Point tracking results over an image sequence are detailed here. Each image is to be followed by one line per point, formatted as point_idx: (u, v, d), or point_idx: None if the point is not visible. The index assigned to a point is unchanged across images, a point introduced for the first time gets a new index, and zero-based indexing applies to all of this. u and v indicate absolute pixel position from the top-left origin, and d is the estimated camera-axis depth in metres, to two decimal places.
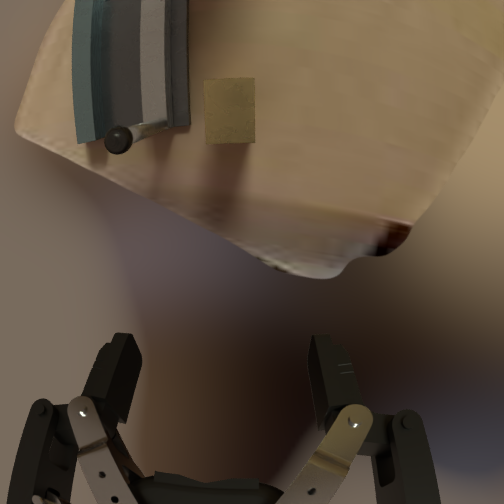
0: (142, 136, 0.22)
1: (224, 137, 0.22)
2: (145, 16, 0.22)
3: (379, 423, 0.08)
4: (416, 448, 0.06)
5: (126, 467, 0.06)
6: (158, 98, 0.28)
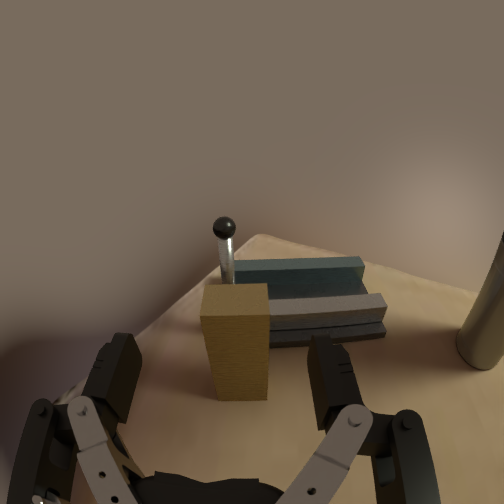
0: (222, 260, 0.31)
1: (209, 295, 0.24)
2: (338, 299, 0.37)
3: (379, 423, 0.08)
4: (416, 448, 0.06)
5: (126, 467, 0.06)
6: None
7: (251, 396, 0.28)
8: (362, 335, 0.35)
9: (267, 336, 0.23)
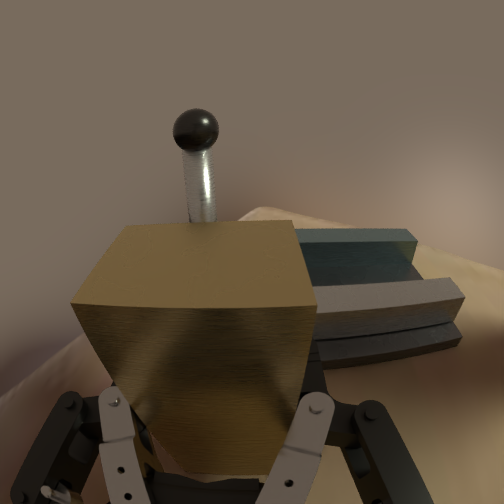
0: (191, 199, 0.15)
1: (122, 248, 0.08)
2: (395, 286, 0.21)
3: (343, 413, 0.08)
4: (385, 437, 0.07)
5: (148, 464, 0.07)
6: None
7: (249, 471, 0.12)
8: (431, 345, 0.19)
9: (297, 378, 0.07)
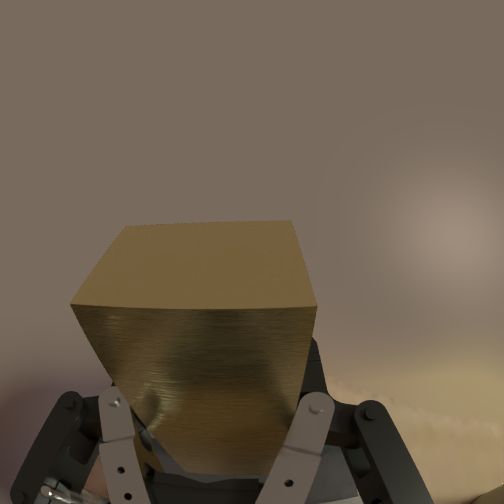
0: None
1: (122, 248, 0.08)
2: None
3: (343, 412, 0.08)
4: (385, 437, 0.07)
5: (148, 464, 0.07)
6: None
7: (248, 471, 0.12)
8: None
9: (297, 378, 0.07)
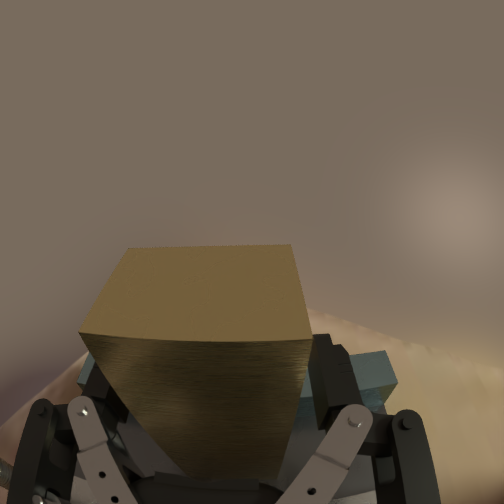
0: None
1: (126, 274, 0.08)
2: None
3: (379, 423, 0.08)
4: (416, 448, 0.06)
5: (126, 467, 0.06)
6: None
7: (248, 476, 0.12)
8: None
9: (294, 398, 0.07)
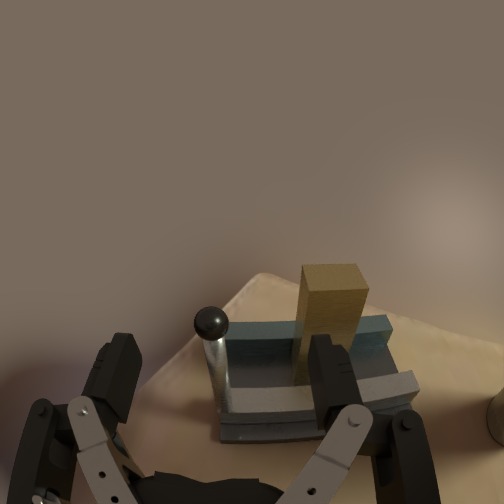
0: (210, 363, 0.20)
1: (310, 274, 0.25)
2: (362, 383, 0.26)
3: (379, 423, 0.08)
4: (416, 448, 0.06)
5: (126, 467, 0.06)
6: (257, 405, 0.25)
7: None
8: None
9: (361, 310, 0.25)
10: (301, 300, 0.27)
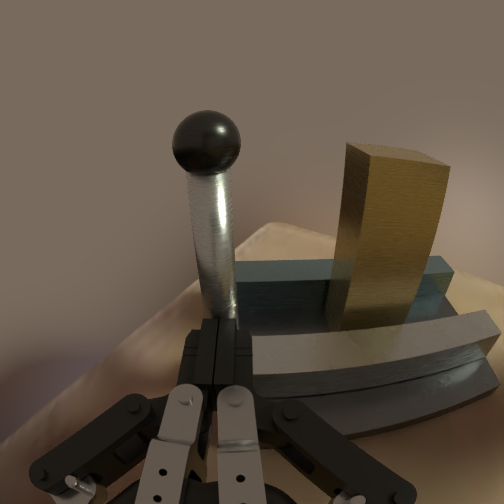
0: (201, 243, 0.11)
1: (362, 147, 0.15)
2: (433, 326, 0.17)
3: (265, 409, 0.09)
4: (315, 431, 0.07)
5: (193, 471, 0.07)
6: (282, 362, 0.16)
7: None
8: (470, 398, 0.14)
9: (440, 207, 0.14)
10: (349, 196, 0.17)
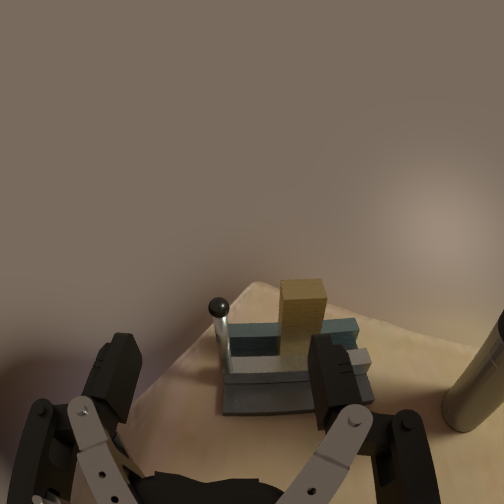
0: (218, 333, 0.33)
1: (285, 287, 0.36)
2: None
3: (379, 423, 0.08)
4: (416, 448, 0.06)
5: (126, 467, 0.06)
6: (249, 368, 0.38)
7: None
8: None
9: (323, 313, 0.35)
10: (280, 305, 0.38)
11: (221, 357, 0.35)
